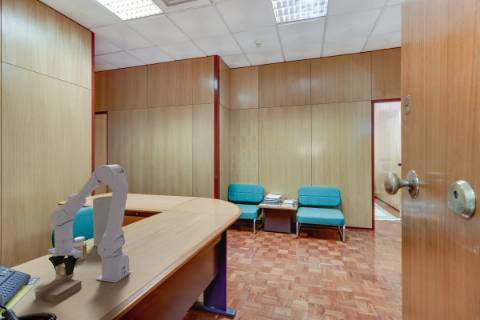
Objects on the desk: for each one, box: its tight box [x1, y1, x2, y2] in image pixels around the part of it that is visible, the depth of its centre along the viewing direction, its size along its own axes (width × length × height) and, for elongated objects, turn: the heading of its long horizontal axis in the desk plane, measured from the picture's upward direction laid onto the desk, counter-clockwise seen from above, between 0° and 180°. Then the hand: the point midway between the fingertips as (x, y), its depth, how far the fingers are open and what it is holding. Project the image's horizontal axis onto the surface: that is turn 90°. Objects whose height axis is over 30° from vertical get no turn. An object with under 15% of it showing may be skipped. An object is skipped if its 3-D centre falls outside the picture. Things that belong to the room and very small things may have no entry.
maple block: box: [55, 263, 75, 281], centre depth 92 cm, size 4×4×5 cm
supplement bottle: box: [73, 236, 88, 262], centre depth 109 cm, size 5×5×10 cm
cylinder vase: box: [92, 195, 112, 247], centre depth 128 cm, size 12×12×25 cm
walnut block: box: [34, 278, 83, 304], centre depth 81 cm, size 9×9×3 cm
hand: (64, 273), depth 92 cm, fingers open, 5 cm apart
